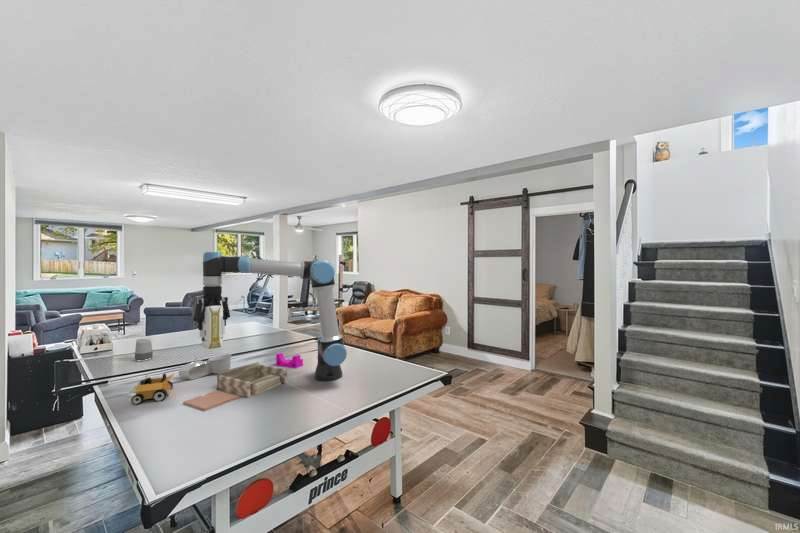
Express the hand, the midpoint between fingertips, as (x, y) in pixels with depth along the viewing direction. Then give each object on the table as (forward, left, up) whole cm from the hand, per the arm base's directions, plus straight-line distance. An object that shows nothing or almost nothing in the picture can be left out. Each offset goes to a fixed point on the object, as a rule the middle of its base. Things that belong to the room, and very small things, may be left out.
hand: (212, 335), depth 156 cm
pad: (0, +1, -30) cm, 30 cm away
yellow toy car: (+29, +10, -30) cm, 43 cm away
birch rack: (0, -21, -30) cm, 37 cm away
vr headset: (+37, -15, -29) cm, 50 cm away
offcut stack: (-8, -21, -30) cm, 38 cm away
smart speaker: (+105, -20, -30) cm, 111 cm away
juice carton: (0, 0, -6) cm, 6 cm away
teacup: (+31, -26, -29) cm, 50 cm away
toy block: (+10, -56, -30) cm, 64 cm away
